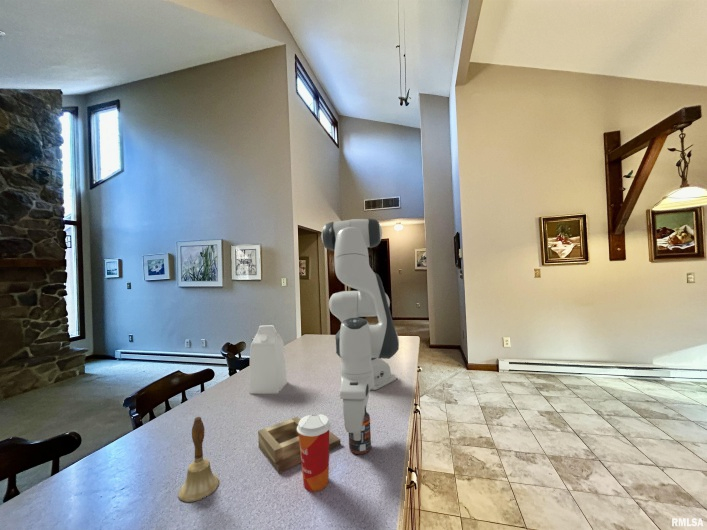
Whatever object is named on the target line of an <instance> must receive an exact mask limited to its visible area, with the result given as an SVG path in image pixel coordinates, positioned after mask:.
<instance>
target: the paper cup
mask: <svg viewBox="0 0 707 530" xmlns="http://www.w3.org/2000/svg"><path fill="white" fill-rule="evenodd" d="M300 419H301V420H300V421H299V424H298V426H297V432H298V433H299V443H300V453H301V463H300V464H301V472H302V480H303V481H302V482H303V487H304V489H305V490H306V491H309V492H311V493H312V492H313V493H316V492H319V491H323V490H324V489H325V488H326V487H327V486H328V483H329V477H330V476H329V474H330V471H329V470H330V468H329V467H330V450H329V431H330V429H331V425H332V424H331V422H330V420H329V418H328V416H326V414H325V415H324V414H321V413H319V414H311V415H310V414H308V415H305V416H303V417H301V418H300Z"/></svg>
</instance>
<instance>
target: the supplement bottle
mask: <svg viewBox="0 0 707 530" xmlns="http://www.w3.org/2000/svg"><path fill="white" fill-rule="evenodd" d="M371 432H372V431H371V416H370V414H369V413H368V412H367V407H366V406H365V415H364V420H363V424H362V428H361V440H360V441H355V440H354V435H353V433H348V448H349V451H350V452H351V453H353V454H354V455H364V454H366V453H368V452H370V450H371V448H372V440H371V439H372V436H371V435H372V433H371Z"/></svg>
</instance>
